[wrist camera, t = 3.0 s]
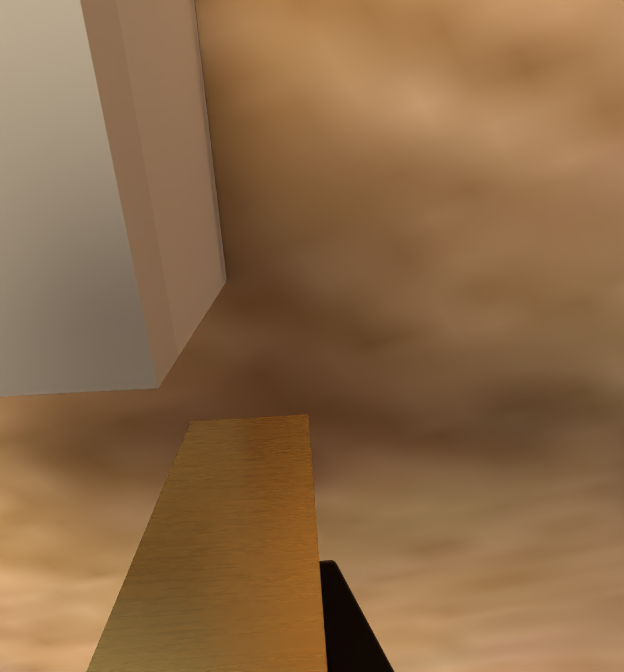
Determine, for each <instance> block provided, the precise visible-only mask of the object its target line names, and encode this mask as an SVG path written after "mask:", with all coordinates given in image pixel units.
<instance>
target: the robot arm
mask: <svg viewBox="0 0 624 672" xmlns="http://www.w3.org/2000/svg"><path fill="white" fill-rule="evenodd" d="M319 566H320V579H321V593H322V606H323V619H324V633H325V646H326V660H327V672H394V670H393V668H392V667H391V665H390V663H389V661H388V659H387V657H386V655H385V653H384V652H383V650H382V648H381V646H380V644H379V642H378V640H377V638H376V637H375V635H374V633H373V631H372V629H371V627H370V625H369V623H368V622H367V620H366V618H365V616H364V614H363V612H362V610H361V609H360V607H359V605H358V603H357V601H356V599H355V597H354V595H353V594H352V592H351V590H350V588H349V586H348V584H347V582H346V580H345V579H344V577H343V575H342V573H341V571H340V569H339V567H338V565H337V564H336V562H335V561H333V560H326V561H319Z"/></svg>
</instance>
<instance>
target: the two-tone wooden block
mask: <svg viewBox="0 0 624 672" xmlns="http://www.w3.org/2000/svg"><path fill="white" fill-rule="evenodd" d="M87 672H327V660H326V646H325V633H324V619H323V606H322V593H321V579H320V566H319V552H318V539H317V526H316V512H315V499H314V485H313V472H312V459H311V445H310V432H309V419H308V414H305V415H288V416H271V417H253V418H236V419H219V420H201V421H191V422H190V424H189V426H188V429H187V431H186V434H185V436H184V438H183V441H182V443H181V446H180V448H179V450H178V453H177V455H176V458H175V460H174V462H173V465H172V467H171V470H170V472H169V475H168V477H167V479H166V482H165V484H164V487H163V489H162V491H161V494H160V496H159V499H158V501H157V503H156V506H155V508H154V511H153V513H152V515H151V518H150V520H149V523H148V525H147V527H146V530H145V532H144V535H143V537H142V539H141V542H140V544H139V547H138V549H137V551H136V554H135V556H134V559H133V561H132V563H131V566H130V568H129V571H128V573H127V576H126V578H125V580H124V583H123V585H122V588H121V590H120V592H119V595H118V597H117V600H116V602H115V604H114V607H113V609H112V612H111V614H110V616H109V619H108V621H107V624H106V626H105V628H104V631H103V633H102V636H101V638H100V640H99V643H98V645H97V648H96V650H95V652H94V655H93V657H92V660H91V662H90V664H89V667H88V669H87Z"/></svg>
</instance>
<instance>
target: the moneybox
mask: <svg viewBox="0 0 624 672" xmlns="http://www.w3.org/2000/svg"><path fill="white" fill-rule="evenodd" d="M226 282H227V278H226V270H225V261H224V252H223V244H222V235H221V227H220V218H219V209H218V201H217V192H216V183H215V175H214V166H213V158H212V149H211V140H210V132H209V123H208V114H207V106H206V97H205V88H204V80H203V71H202V63H201V54H200V45H199V37H198V28H197V19H196V11H195V2H194V0H0V397H6V396H25V395H43V394H62V393H81V392H99V391H118V390H137V389H155V388H159V387H160V385H161V383H162V382H163V380H164V379H165V377H166V376H167V374H168V372H169V371H170V369H171V368H172V366H173V365H174V363H175V362H176V360H177V358H178V357H179V355H180V354H181V352H182V351H183V349H184V347H185V346H186V344H187V343H188V341H189V340H190V338H191V336H192V335H193V333H194V332H195V330H196V329H197V327H198V325H199V324H200V322H201V321H202V319H203V318H204V316H205V314H206V313H207V311H208V310H209V308H210V307H211V305H212V304H213V302H214V300H215V299H216V297H217V296H218V294H219V293H220V291H221V289H222V288H223V286H224V285H225V283H226Z"/></svg>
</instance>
